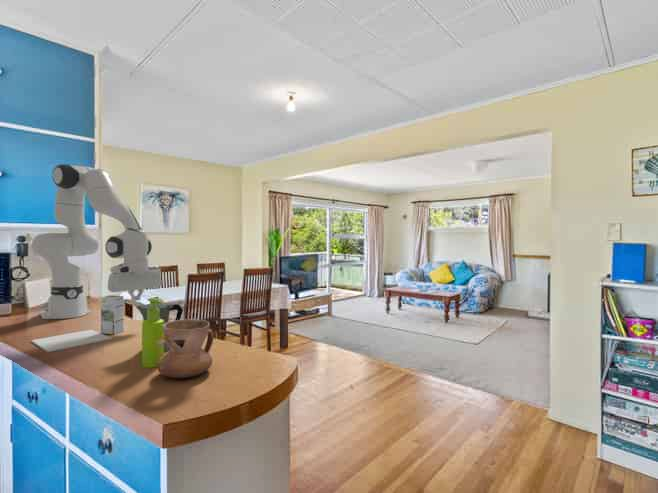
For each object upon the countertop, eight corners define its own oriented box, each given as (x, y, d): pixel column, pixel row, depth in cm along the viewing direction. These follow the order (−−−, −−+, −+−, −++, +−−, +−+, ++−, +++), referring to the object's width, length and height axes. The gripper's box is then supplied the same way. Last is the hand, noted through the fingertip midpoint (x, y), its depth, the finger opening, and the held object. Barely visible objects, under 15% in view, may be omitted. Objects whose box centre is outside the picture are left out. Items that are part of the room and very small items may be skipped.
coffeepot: (128, 354, 114) (129, 299, 113) (143, 345, 123) (143, 294, 122) (176, 354, 114) (177, 299, 114) (187, 345, 123) (188, 295, 123)
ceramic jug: (172, 390, 88) (174, 334, 88) (141, 376, 96) (143, 324, 96) (228, 369, 103) (230, 321, 103) (197, 358, 111) (199, 314, 111)
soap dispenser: (151, 370, 101) (151, 301, 100) (137, 365, 104) (138, 298, 104) (169, 364, 106) (170, 298, 105) (156, 359, 109) (156, 295, 109)
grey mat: (31, 341, 125) (31, 340, 125) (91, 330, 140) (91, 329, 140) (47, 352, 114) (47, 350, 114) (111, 339, 129) (111, 337, 129)
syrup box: (124, 331, 140) (124, 295, 140) (113, 335, 135) (114, 297, 134) (111, 330, 141) (111, 294, 141) (100, 334, 135) (100, 297, 135)
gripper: (157, 265, 155) (156, 296, 155) (105, 268, 138) (105, 302, 138) (164, 266, 151) (164, 298, 151) (112, 269, 134) (112, 304, 135)
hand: (135, 300), depth 145 cm, fingers closed
